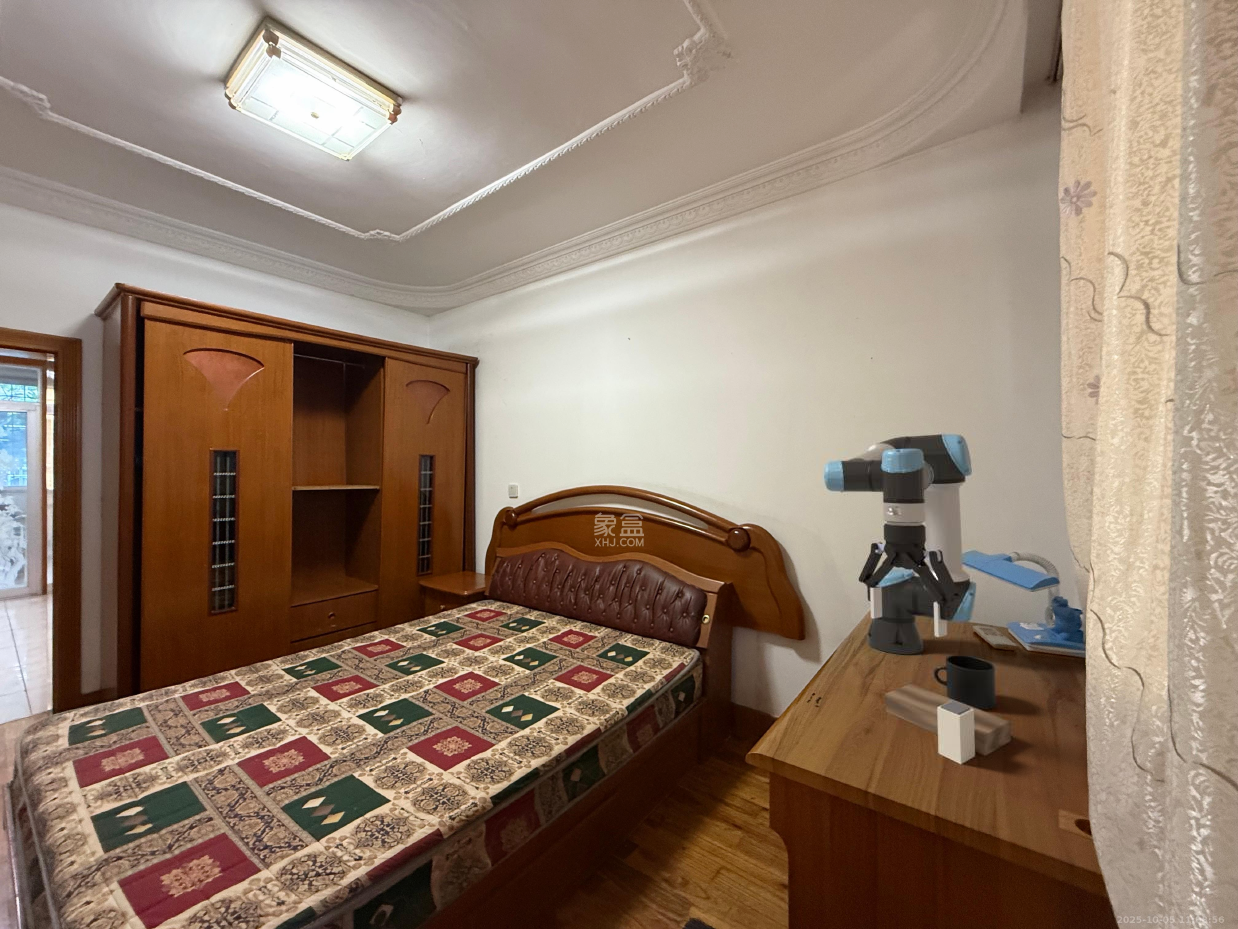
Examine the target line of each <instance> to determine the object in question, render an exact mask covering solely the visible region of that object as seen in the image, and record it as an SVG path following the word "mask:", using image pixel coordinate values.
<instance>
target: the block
mask: <svg viewBox="0 0 1238 929" xmlns="http://www.w3.org/2000/svg"><path fill="white" fill-rule="evenodd" d="M937 717H938V735H937V739H938V740H937V744H938V745H937V746H938V747H937V749H938V754H939V755H941V756H943V757H945V758H947V759H950V760H952V761H954V762H956V763H958V764H960V765H962V764H964V763H965V762H968V761H969V760H970V759H972V758H974V757H976V752H975V739H974V709H971V708H970V707H967V706H965V705H962V704H959V703H957V702H954V701H950V702H948V703H946V704H944V705H941V706H939V707H937Z"/></svg>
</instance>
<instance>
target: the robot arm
mask: <svg viewBox="0 0 1238 929" xmlns="http://www.w3.org/2000/svg"><path fill="white" fill-rule="evenodd" d="M967 443H968V442H967V441H966V439H965V437H964V436H963V435H961V434H959V433H958V434H957V433H956V434H955V433H953V434H952V433H951V434H950V433H949V434H948V433H941V434H927V435H924V434H923V435H912V436H907V435H906V436H898V437H893V438H890V439H887V440H883V441H880V442H878V443H875V444H873V445H871V446H869V447H868V449H867V450H866V451H865V452H864V453H862V454H859V455H857V456H855V457H853V458H850V459H847V460H839V459H838V460H831V461H828V462H827V463H826V465H825V466H824V470H823V480H824V485H825V488H826V489H827V490H828V491H830V492H840V493H843V492H844V493H845V492H846V493H849V492H853V493H857V492H861V493H862V492H863V493H864V492H865V493H868V492H869V493H871V492H872V493H882V498H883V499H882V502H883V504H882V505H883V508H882V509H883V512H882V513H883V521H884V522H886V523H884V524H883V540H884V541H885V544H883V542H881V541H880V542H872V543H871V544H870V553H869V554H868V557H867V559H866V561H865V564H864V566H863V568H862V570H861V573H860V575H859V577H858V582H860V583H863V584H864V585H865V586H866V590H867V592H866V593H867V600H868V602H870V618H871V622H870V625H869V628H868V630H867V631H868V632H867V634H866V639H867V640H866V642H867V645H869V646H870V647H872V648H873V649H875V650H879V651H882V652H885V653H890V654H895V655H896V654H897V655H898V654H899V655H917V654H920V653H922V652H923V651H924V642H923V638H922V636H921V632H920V631H919V627H918V626H917V621H916V620H917V618H916V617H917V616H918V617H924V618H931V619H933V620H934V623H933V624H934V626H933V627H934V629H933V630H934V637H937V638H941V637H945V636H947V635H948V624H947V621H948V622H950V623H951V622H952V623H953V622H957V623H968V622H971V619H972V618H973V613H974V608H975V601H976V595H977V583H976V582H973V581H971V579H970V574H969V573H967V571H965V570H964V566H963V563H964V562H963V546H962V541H963V540H962V524H961V523H962V520H961V504H960V503H961V501H960V487H961V486H963V485H965V483H966V477H968V476H971V475H972V473H973V472H972V471H973V470H972V462H971V456H970V451H969V447H968V444H967ZM923 523H924V524H923ZM884 553H885V555H886V558H885V559H884V560H883V561H882V563H881V565H880V566H879V567H878V564H879V563H880V560H881V558H882V556H883V554H884ZM925 559H926V561H925ZM877 567H878V568H877ZM916 574H917V575H916Z"/></svg>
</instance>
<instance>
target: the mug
mask: <svg viewBox="0 0 1238 929" xmlns="http://www.w3.org/2000/svg"><path fill="white" fill-rule="evenodd" d="M941 670H943V671H945V675H946V676H945V677H946V678H945V679H946V680H942V679H941V677H940V676H939V673H940V671H941ZM933 676H934V679H935V680H936V681H937V682H938V683H939V684H941V685H943V686H944V687H946V697H948V698H950V699H953V700H955V701H958V702H961V703H963V704H966V705H969V706H971V707H974V708H976V709H979V710H982V711H989V710H992V709H994V708H995V707H996V705H997V702H996V701H997V697H996V695H997V694H996V692H997V691H996V667H995V665H994V664H993V663H991V662H989V661H988V660H985V659H982V658H978V657H974V656H969V655H962V654H959V655H958V654H956V655H955V654H954V655H949V656H946V659H945V665H939V666H937V667H935V669H934V671H933Z"/></svg>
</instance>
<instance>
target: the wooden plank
mask: <svg viewBox="0 0 1238 929" xmlns="http://www.w3.org/2000/svg"><path fill="white" fill-rule="evenodd" d="M884 696H885V712H887V714H890V715H893V716H895V717H897V718H900V719H902V720H903V721H906V722H909V723H910V724H913V725H915V726H918V727H919V728H921V729H924V730H926V731H928V732H930V733H933V734H935V735H937V736H938V717H937V707H939V706H941V705H944V704H946V703H948V702H950V701H954V702H957V703H959V704H962V705H965V706H967V707H970V708H971V709H974V739H975V753H977V754H980V755H982V756H984V757H986V756H988V755H989V754H992V753H993V752H995V751H996V750H998V749H1000V748H1001V747H1003V746H1005V745H1006V744H1008V743H1010V742H1011V741H1012V740H1011V739H1012V738H1011V721H1010V720H1008V719H1005V718H1002V717H1000V716H997V715H995V714H992V713H990V712H986V711H985V710H979V709H976V708H974V707H971V706H969V705H966V704H963V703H961V702H958V701H955V700H953V699H950V698H948V696H944V695H942V694H939V693H937V692H934V691H931V690H929V689H926V688H923V687H921V686H918V685H916V684H913V683H910V684H906V685H905V686H902V687H899V688H896V689H895V690H891V691H889V692H887V693H885V694H884Z"/></svg>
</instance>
